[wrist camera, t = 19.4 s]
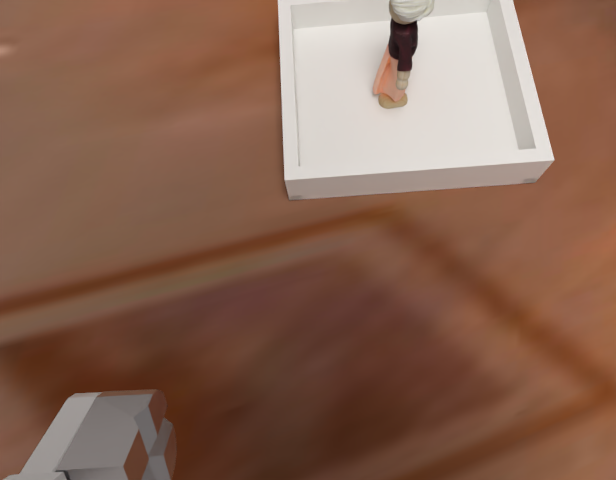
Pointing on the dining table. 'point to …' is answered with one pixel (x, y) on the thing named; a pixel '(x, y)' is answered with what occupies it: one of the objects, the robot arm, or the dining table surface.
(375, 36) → the tray
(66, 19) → the dining table surface
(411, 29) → the grandmother figurine
